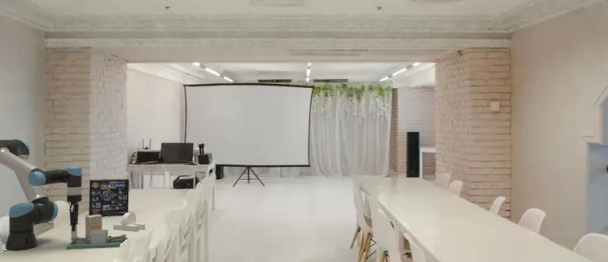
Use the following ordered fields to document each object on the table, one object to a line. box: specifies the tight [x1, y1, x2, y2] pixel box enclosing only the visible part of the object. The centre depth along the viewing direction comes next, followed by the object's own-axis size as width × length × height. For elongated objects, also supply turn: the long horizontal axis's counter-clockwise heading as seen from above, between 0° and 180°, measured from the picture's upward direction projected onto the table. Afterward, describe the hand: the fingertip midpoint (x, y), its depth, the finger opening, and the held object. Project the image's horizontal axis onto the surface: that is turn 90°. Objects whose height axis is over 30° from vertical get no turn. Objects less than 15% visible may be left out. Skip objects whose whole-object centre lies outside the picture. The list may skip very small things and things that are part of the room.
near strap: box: [70, 235, 90, 242], centre depth 276 cm, size 10×5×2 cm, turn 104°
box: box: [88, 178, 130, 218], centre depth 363 cm, size 27×7×27 cm, turn 115°
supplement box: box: [84, 214, 103, 238], centre depth 295 cm, size 8×5×13 cm, turn 141°
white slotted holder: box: [112, 212, 146, 233], centre depth 319 cm, size 10×18×11 cm, turn 71°
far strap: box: [107, 233, 127, 240], centre depth 281 cm, size 10×5×2 cm, turn 104°
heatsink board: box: [66, 229, 129, 250], centre depth 278 cm, size 30×16×8 cm, turn 104°
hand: (74, 236), depth 275 cm, fingers closed
